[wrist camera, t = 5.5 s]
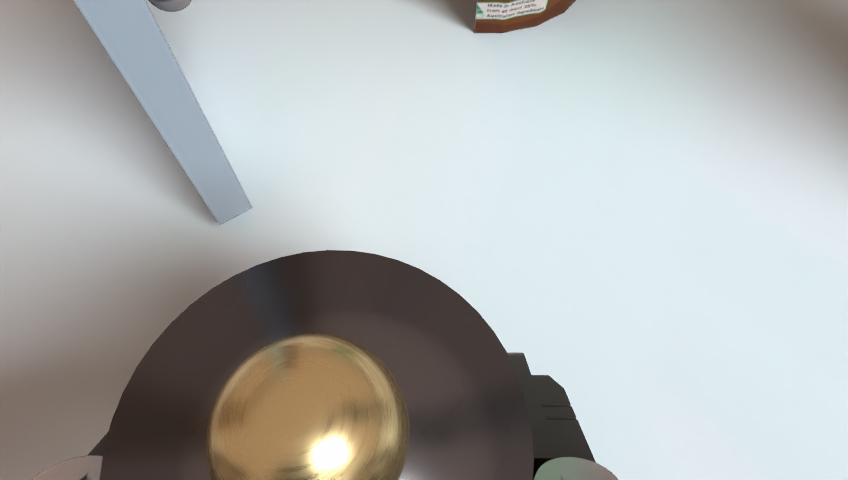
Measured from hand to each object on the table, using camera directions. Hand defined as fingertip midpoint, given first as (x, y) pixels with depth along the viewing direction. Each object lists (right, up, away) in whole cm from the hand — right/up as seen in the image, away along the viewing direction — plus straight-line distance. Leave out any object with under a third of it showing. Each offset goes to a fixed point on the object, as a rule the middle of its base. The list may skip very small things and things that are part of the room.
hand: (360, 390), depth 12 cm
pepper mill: (0, -4, +3) cm, 5 cm away
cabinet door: (-8, +10, +9) cm, 16 cm away
